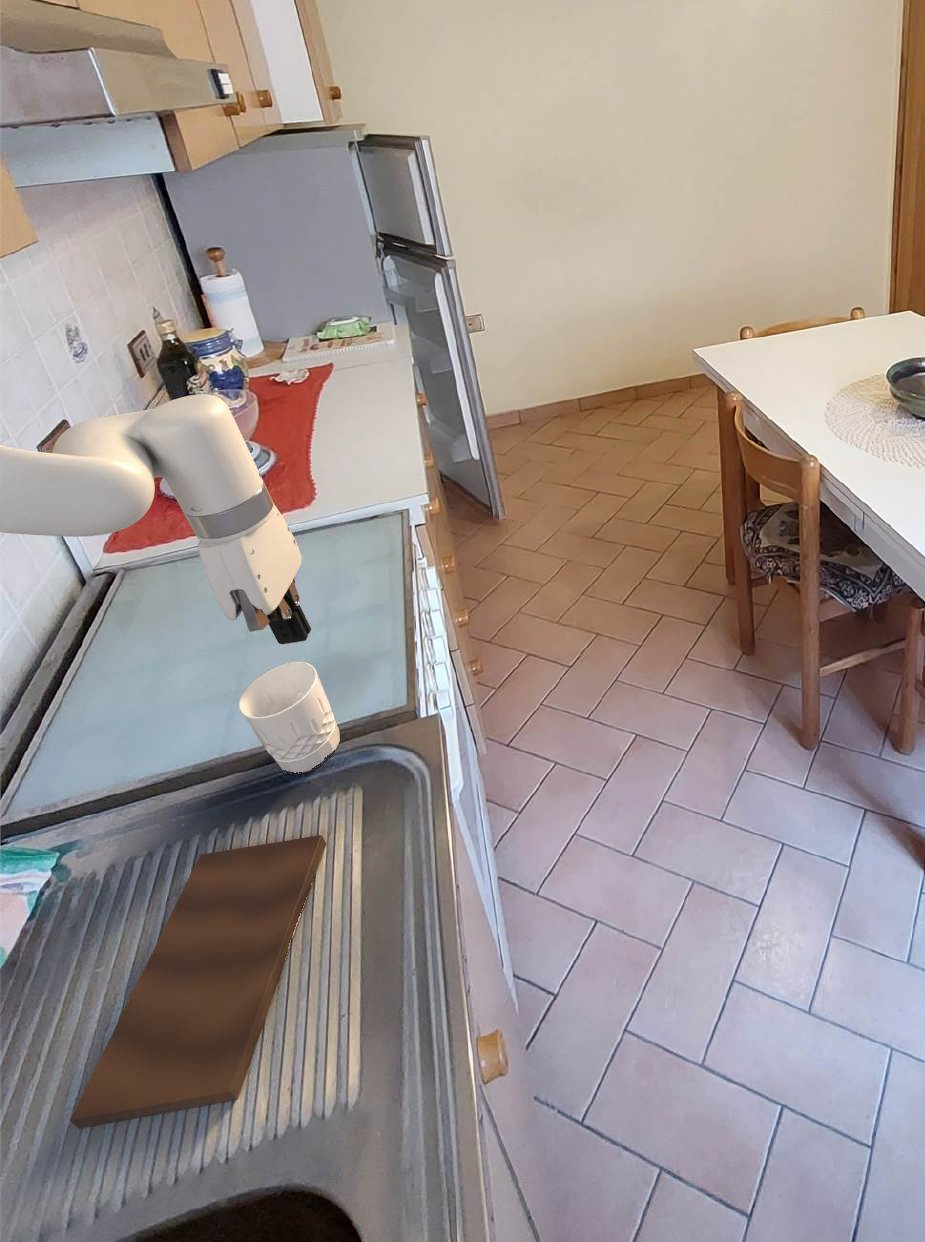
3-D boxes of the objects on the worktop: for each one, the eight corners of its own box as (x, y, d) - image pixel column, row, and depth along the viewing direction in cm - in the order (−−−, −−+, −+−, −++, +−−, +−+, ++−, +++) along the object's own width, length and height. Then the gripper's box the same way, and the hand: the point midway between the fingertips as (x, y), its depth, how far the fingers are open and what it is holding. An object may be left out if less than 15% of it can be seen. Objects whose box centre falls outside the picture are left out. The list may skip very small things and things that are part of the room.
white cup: (257, 773, 86) (221, 713, 81) (304, 716, 93) (274, 657, 88) (315, 784, 84) (282, 723, 79) (360, 725, 91) (331, 665, 86)
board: (206, 863, 77) (200, 854, 76) (326, 843, 78) (321, 834, 77) (78, 1129, 59) (68, 1121, 58) (237, 1100, 59) (229, 1091, 59)
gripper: (226, 476, 86) (287, 599, 95) (156, 560, 73) (234, 693, 81) (294, 466, 86) (348, 589, 95) (236, 548, 73) (305, 682, 82)
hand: (295, 637), depth 88 cm, fingers closed
